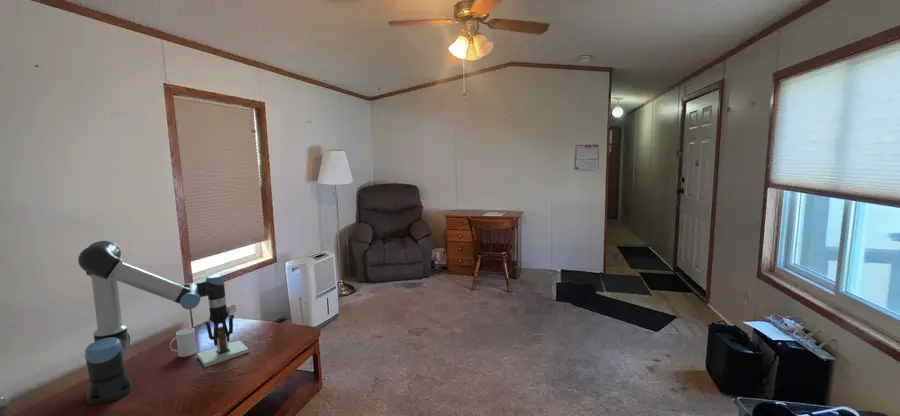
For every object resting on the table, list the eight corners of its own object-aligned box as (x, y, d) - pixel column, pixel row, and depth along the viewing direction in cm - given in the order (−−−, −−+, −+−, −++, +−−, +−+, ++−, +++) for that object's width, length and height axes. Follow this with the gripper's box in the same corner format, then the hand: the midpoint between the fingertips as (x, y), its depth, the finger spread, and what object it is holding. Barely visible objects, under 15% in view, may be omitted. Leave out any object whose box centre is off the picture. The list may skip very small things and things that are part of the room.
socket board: (204, 367, 196) (204, 363, 196) (197, 357, 206) (197, 353, 206) (248, 352, 210) (248, 348, 210) (239, 343, 220) (239, 340, 220)
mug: (173, 361, 203) (170, 338, 201) (168, 356, 208) (165, 334, 206) (200, 352, 212) (197, 330, 210) (194, 347, 217) (191, 326, 215)
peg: (220, 356, 205) (217, 329, 203) (218, 353, 208) (215, 327, 206) (228, 353, 208) (225, 327, 206) (226, 351, 210) (223, 325, 208)
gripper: (201, 312, 196) (207, 357, 199) (237, 302, 207) (241, 346, 210) (197, 308, 202) (203, 352, 205) (232, 299, 213) (237, 341, 216)
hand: (222, 349), depth 208 cm, fingers closed on peg, 3 cm apart
